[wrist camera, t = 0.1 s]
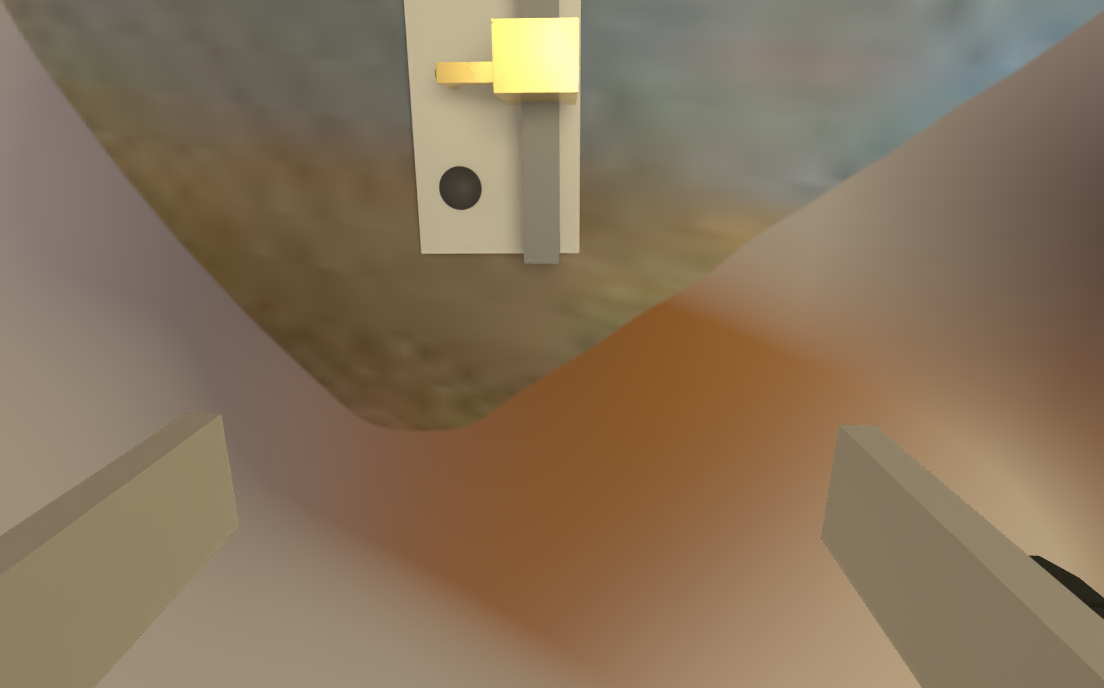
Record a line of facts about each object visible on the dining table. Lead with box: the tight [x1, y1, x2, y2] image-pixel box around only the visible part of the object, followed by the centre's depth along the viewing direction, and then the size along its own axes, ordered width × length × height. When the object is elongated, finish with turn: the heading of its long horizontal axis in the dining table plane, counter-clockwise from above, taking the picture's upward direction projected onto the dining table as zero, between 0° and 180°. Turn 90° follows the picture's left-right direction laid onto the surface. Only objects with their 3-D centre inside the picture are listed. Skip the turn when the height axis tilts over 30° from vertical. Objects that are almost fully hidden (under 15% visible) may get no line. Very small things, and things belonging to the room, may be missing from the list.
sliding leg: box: [435, 18, 578, 106], centre depth 31 cm, size 3×8×8 cm, turn 90°
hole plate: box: [404, 0, 581, 263], centre depth 34 cm, size 20×10×6 cm, turn 0°
